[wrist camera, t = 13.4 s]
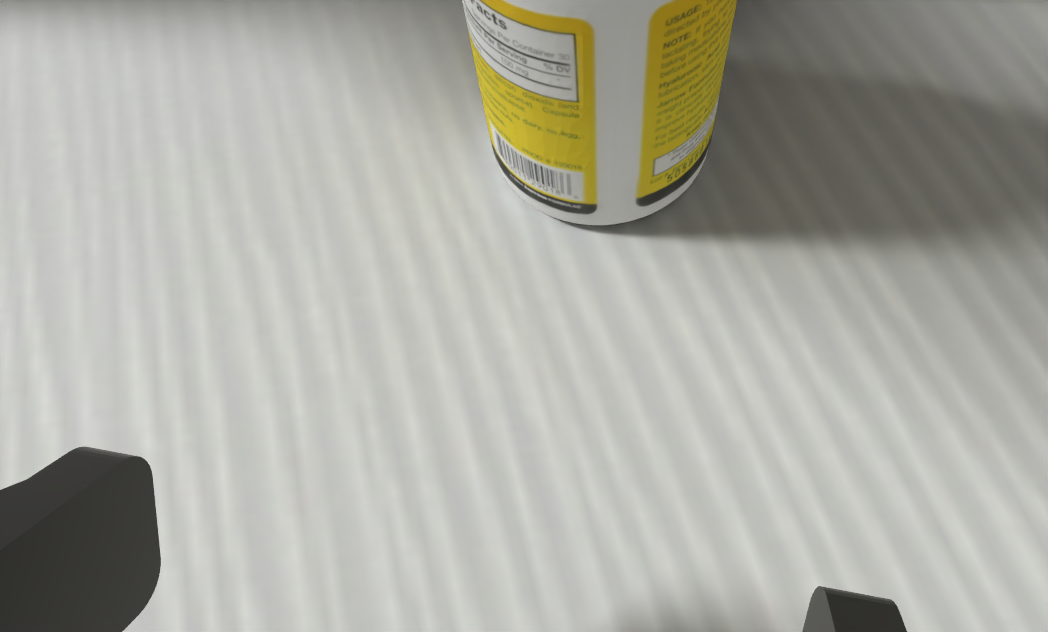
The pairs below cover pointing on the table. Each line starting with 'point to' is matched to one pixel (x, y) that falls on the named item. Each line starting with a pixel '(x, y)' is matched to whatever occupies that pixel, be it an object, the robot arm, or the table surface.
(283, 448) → the table surface
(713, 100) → the supplement bottle
